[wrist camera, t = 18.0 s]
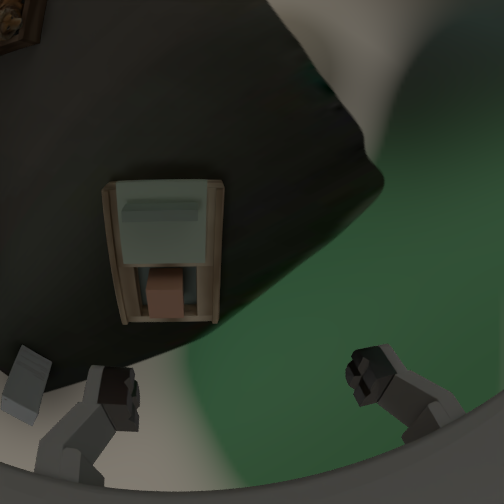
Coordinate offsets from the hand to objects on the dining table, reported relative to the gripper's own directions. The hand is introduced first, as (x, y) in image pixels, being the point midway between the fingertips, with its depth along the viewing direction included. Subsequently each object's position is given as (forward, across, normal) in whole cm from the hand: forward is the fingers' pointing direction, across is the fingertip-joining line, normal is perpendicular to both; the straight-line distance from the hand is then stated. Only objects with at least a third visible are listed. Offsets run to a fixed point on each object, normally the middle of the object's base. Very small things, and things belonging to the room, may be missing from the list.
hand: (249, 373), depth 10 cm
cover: (+26, +5, +5) cm, 26 cm away
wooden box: (+29, +5, +10) cm, 31 cm away
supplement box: (+29, +35, +35) cm, 58 cm away
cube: (+28, +5, +15) cm, 32 cm away
